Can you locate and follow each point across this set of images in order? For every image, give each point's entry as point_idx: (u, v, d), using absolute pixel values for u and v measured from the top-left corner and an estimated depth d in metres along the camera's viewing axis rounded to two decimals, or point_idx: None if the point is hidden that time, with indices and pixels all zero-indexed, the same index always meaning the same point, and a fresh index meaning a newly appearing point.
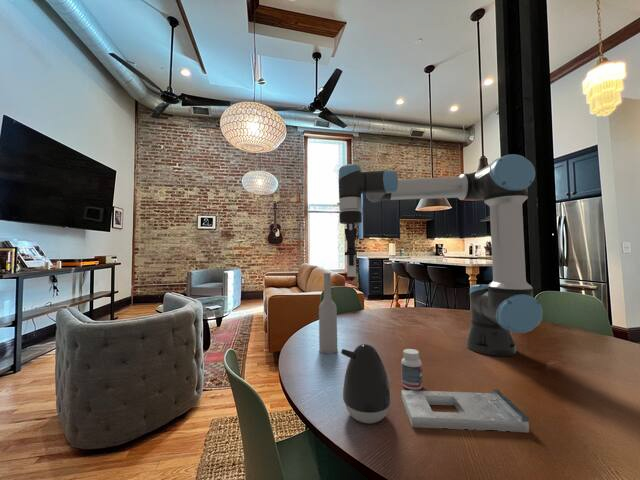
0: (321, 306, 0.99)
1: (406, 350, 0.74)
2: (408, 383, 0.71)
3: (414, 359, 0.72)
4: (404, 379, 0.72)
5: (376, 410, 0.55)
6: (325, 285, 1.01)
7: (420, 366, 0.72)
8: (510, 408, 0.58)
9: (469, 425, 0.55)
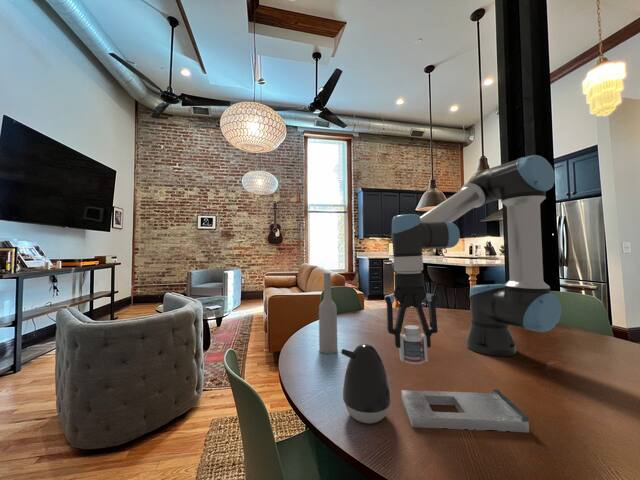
0: (321, 306, 0.99)
1: (406, 326, 0.75)
2: (409, 358, 0.72)
3: (415, 334, 0.72)
4: (405, 354, 0.73)
5: (376, 410, 0.55)
6: (325, 285, 1.01)
7: (421, 341, 0.72)
8: (510, 408, 0.58)
9: (469, 425, 0.55)
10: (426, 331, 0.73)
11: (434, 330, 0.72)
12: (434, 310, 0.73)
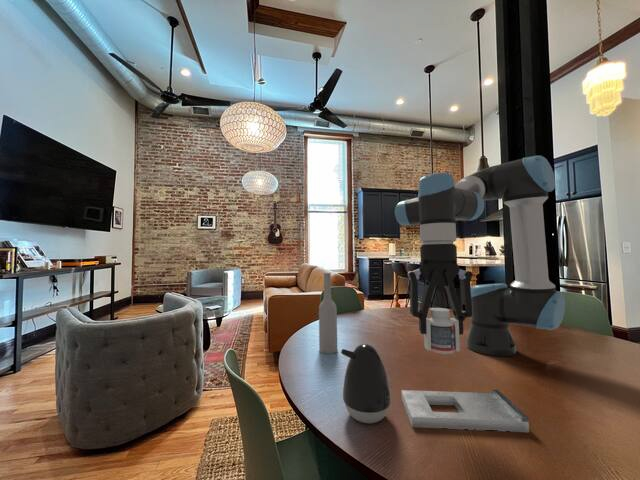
0: (321, 306, 0.99)
1: (434, 308, 0.62)
2: (438, 346, 0.59)
3: (445, 317, 0.60)
4: (433, 342, 0.60)
5: (376, 410, 0.55)
6: (325, 285, 1.01)
7: (452, 326, 0.59)
8: (510, 408, 0.58)
9: (469, 425, 0.55)
10: (458, 314, 0.60)
11: (468, 313, 0.60)
12: (469, 289, 0.60)
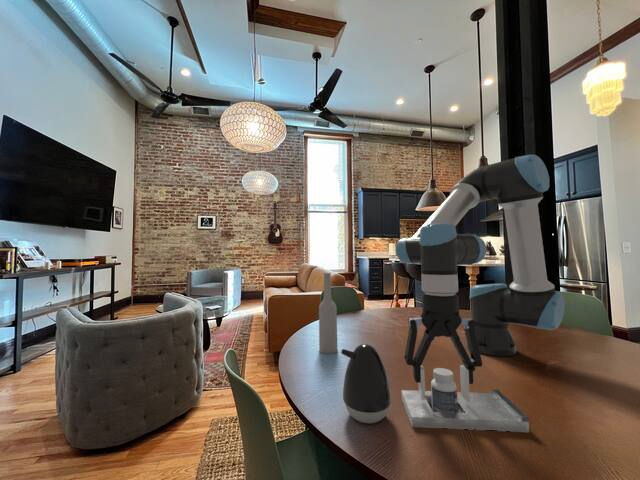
0: (321, 306, 0.99)
1: (437, 370, 0.62)
2: None
3: (448, 382, 0.59)
4: (436, 406, 0.59)
5: (376, 410, 0.55)
6: (325, 285, 1.01)
7: (455, 390, 0.59)
8: (510, 408, 0.58)
9: (469, 425, 0.55)
10: (468, 364, 0.59)
11: (478, 363, 0.59)
12: (474, 339, 0.59)
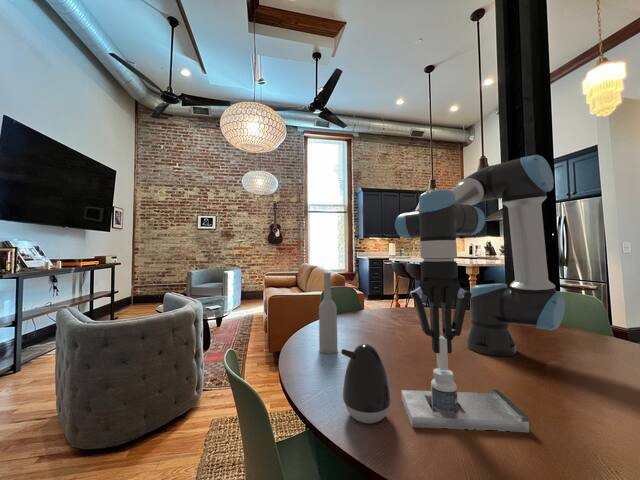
0: (321, 306, 0.99)
1: (437, 370, 0.62)
2: None
3: (448, 382, 0.59)
4: (436, 406, 0.59)
5: (376, 410, 0.55)
6: (325, 285, 1.01)
7: (455, 390, 0.59)
8: (510, 408, 0.58)
9: (469, 425, 0.55)
10: (447, 333, 0.60)
11: (457, 332, 0.60)
12: (464, 309, 0.60)
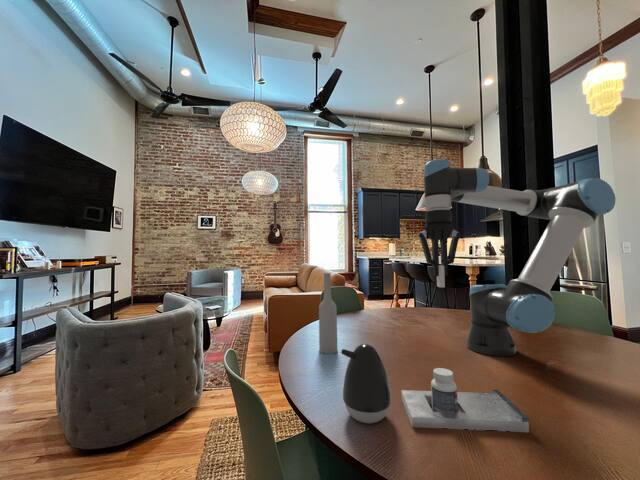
0: (321, 306, 1.00)
1: (437, 370, 0.62)
2: None
3: (448, 382, 0.59)
4: (436, 406, 0.59)
5: (376, 410, 0.55)
6: (325, 285, 1.01)
7: (455, 390, 0.59)
8: (510, 408, 0.58)
9: (469, 425, 0.55)
10: (444, 261, 0.84)
11: (451, 260, 0.84)
12: (456, 244, 0.84)
